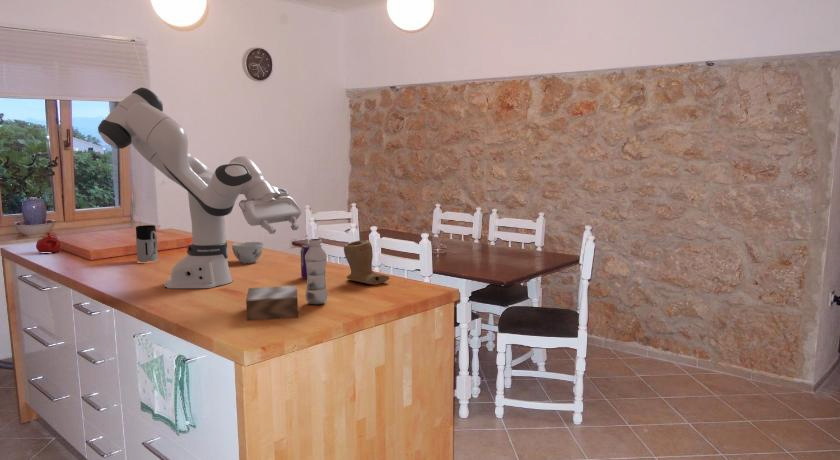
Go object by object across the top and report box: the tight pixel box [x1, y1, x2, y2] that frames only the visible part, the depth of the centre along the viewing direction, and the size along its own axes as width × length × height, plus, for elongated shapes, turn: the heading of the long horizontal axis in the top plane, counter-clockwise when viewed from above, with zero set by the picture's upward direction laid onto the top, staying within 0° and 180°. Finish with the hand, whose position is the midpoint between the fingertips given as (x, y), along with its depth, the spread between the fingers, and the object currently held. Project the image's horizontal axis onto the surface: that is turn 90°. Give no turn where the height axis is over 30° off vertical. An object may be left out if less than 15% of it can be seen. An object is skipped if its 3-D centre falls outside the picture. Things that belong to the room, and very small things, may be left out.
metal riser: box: [245, 285, 299, 321], centre depth 179 cm, size 14×14×6 cm
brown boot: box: [343, 239, 390, 286], centre depth 217 cm, size 15×12×15 cm
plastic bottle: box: [305, 238, 328, 305], centre depth 187 cm, size 6×7×20 cm
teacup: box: [231, 241, 264, 264], centre depth 255 cm, size 15×12×8 cm
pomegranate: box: [35, 232, 61, 253], centre depth 279 cm, size 10×10×9 cm
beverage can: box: [300, 243, 310, 280], centre depth 225 cm, size 7×7×12 cm
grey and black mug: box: [135, 224, 159, 262], centre depth 254 cm, size 9×14×15 cm, turn 46°
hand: (285, 230), depth 192 cm, fingers open, 8 cm apart
